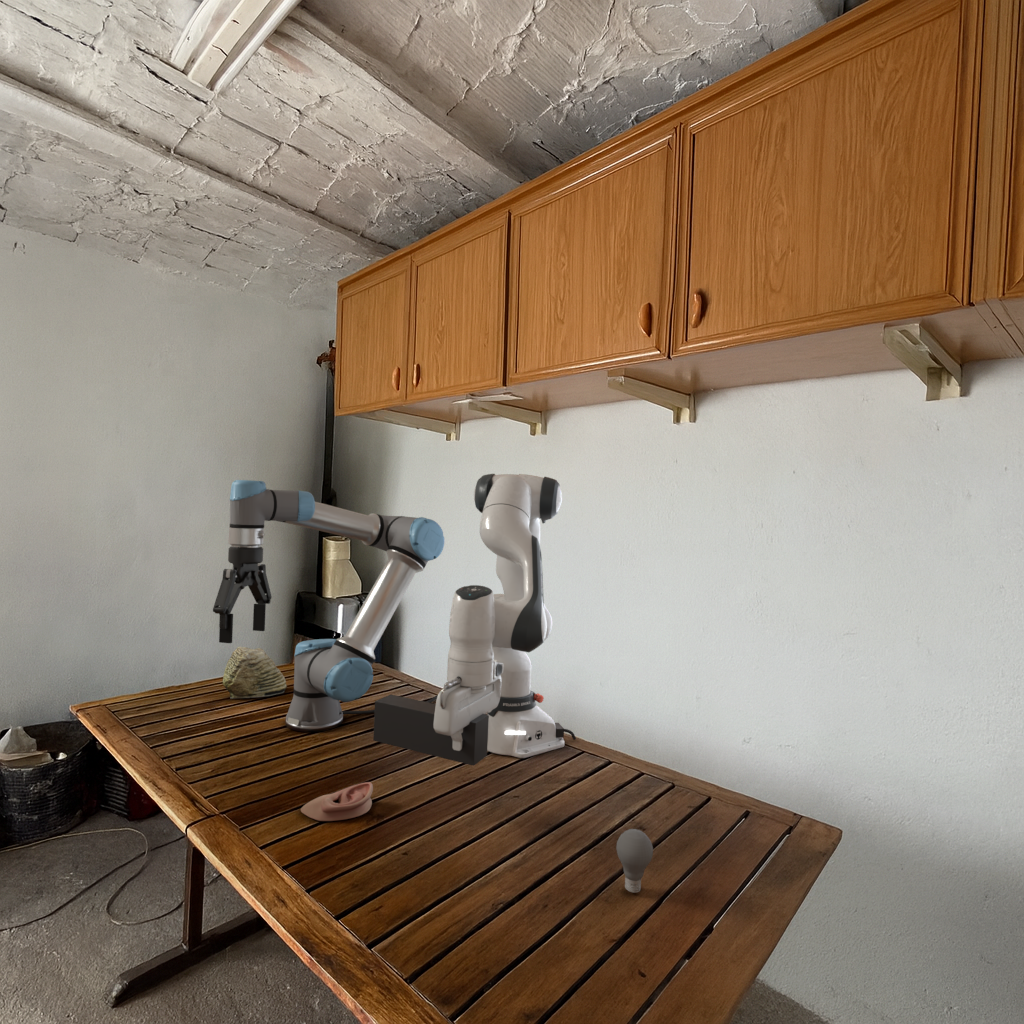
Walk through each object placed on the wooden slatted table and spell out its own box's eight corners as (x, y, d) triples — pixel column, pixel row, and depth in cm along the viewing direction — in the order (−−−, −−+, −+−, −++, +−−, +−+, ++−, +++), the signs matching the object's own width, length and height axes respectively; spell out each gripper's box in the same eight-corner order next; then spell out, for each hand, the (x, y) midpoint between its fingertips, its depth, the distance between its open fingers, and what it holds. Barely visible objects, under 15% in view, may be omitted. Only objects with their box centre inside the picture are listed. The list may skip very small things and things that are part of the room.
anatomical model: (293, 796, 125) (321, 772, 136) (292, 816, 125) (321, 791, 136) (355, 806, 122) (379, 781, 133) (354, 826, 122) (379, 799, 133)
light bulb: (610, 879, 108) (613, 822, 108) (644, 879, 109) (647, 822, 109) (619, 902, 102) (622, 840, 102) (655, 901, 103) (658, 840, 103)
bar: (373, 740, 128) (374, 701, 128) (389, 732, 133) (390, 694, 132) (473, 765, 118) (475, 723, 118) (487, 756, 123) (488, 714, 123)
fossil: (218, 695, 195) (220, 647, 195) (278, 685, 208) (279, 640, 207) (228, 703, 189) (230, 653, 188) (289, 692, 201) (290, 645, 201)
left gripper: (229, 550, 135) (225, 649, 136) (287, 543, 160) (284, 627, 160) (197, 548, 136) (193, 646, 137) (260, 542, 161) (257, 625, 161)
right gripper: (457, 687, 111) (453, 766, 111) (507, 662, 129) (504, 730, 129) (426, 682, 113) (423, 758, 114) (480, 658, 132) (477, 724, 132)
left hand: (242, 636), depth 148 cm, fingers open, 13 cm apart
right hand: (467, 743), depth 122 cm, fingers closed on bar, 5 cm apart
